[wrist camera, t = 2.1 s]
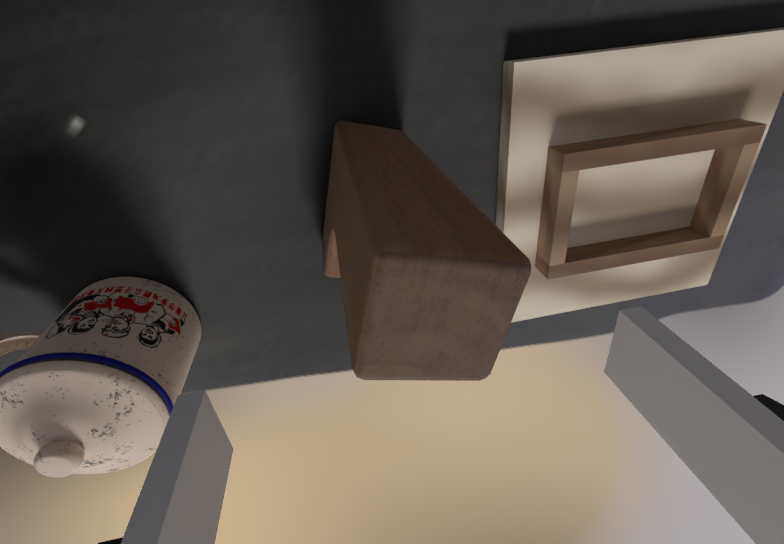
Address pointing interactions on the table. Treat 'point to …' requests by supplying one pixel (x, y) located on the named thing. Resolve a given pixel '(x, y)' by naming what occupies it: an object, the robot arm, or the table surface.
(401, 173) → the wooden block
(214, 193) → the table surface
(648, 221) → the keyed plate
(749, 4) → the table surface
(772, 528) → the robot arm
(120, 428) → the teacup with lid
